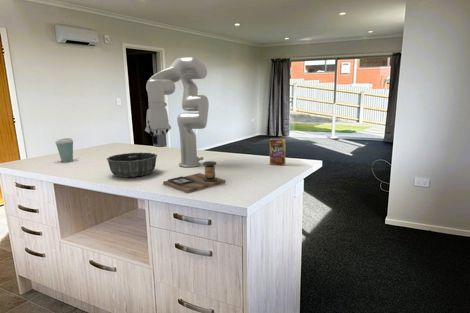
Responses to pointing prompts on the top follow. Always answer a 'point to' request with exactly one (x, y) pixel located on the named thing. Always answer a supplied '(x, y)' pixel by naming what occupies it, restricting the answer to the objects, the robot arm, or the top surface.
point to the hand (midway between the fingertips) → (159, 143)
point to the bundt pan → (132, 164)
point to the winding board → (196, 180)
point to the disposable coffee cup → (65, 149)
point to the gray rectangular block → (161, 140)
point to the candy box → (277, 151)
